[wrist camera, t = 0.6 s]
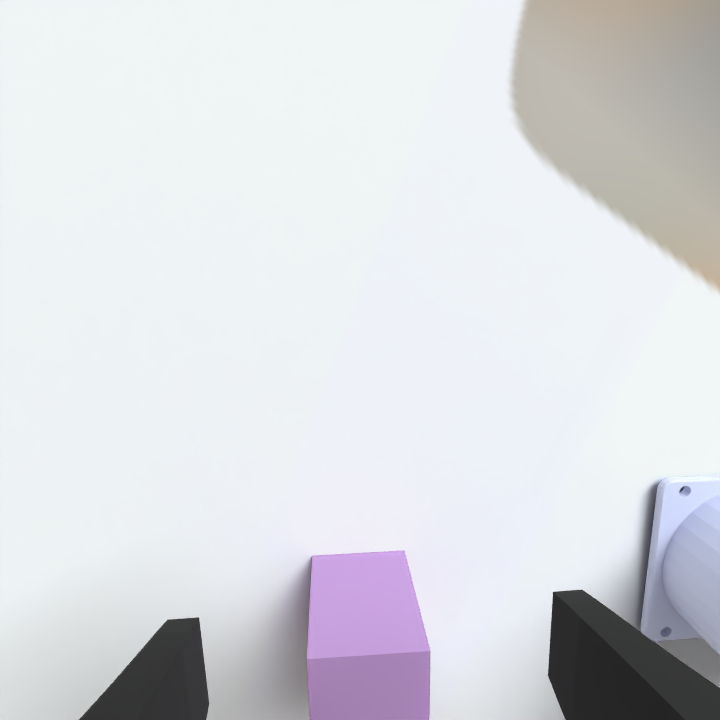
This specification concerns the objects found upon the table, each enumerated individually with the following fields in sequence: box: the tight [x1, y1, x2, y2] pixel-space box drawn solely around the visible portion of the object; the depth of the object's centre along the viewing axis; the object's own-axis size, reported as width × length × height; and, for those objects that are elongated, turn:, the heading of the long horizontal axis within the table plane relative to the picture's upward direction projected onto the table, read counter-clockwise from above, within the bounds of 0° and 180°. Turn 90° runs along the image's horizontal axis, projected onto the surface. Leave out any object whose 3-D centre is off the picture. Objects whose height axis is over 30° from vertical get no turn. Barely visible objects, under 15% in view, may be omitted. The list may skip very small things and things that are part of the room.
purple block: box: [307, 551, 430, 720], centre depth 19 cm, size 4×4×6 cm
